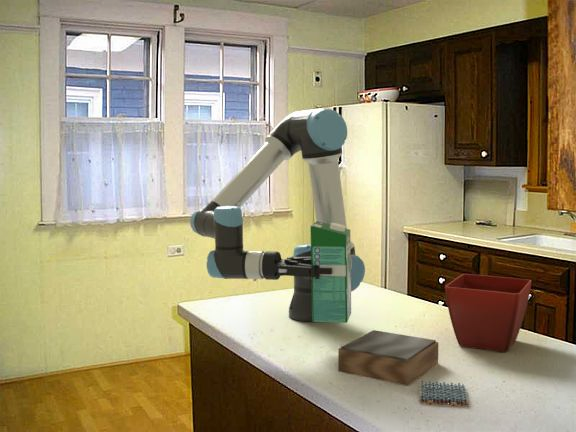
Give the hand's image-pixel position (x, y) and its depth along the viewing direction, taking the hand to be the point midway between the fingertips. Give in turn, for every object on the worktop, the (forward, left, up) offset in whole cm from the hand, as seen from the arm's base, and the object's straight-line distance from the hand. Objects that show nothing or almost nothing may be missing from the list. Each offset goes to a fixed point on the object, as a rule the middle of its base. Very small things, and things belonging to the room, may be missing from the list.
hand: (348, 267), depth 173 cm
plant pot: (+28, +27, -23) cm, 45 cm away
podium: (+14, -5, -23) cm, 27 cm away
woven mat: (+32, -16, -23) cm, 43 cm away
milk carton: (-4, -1, -14) cm, 14 cm away
